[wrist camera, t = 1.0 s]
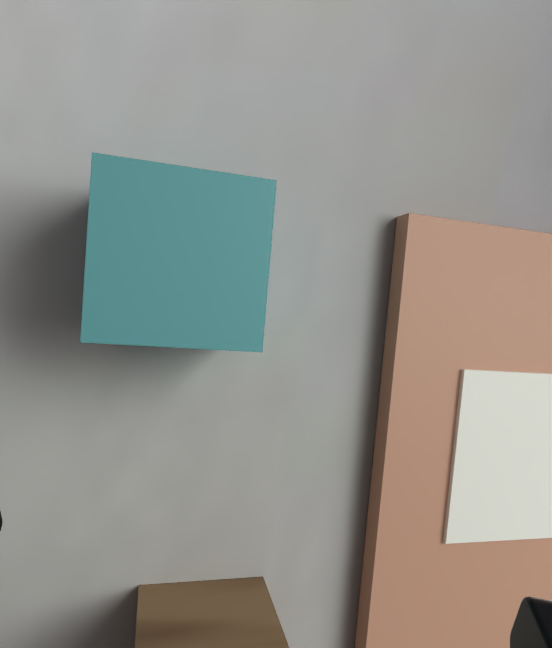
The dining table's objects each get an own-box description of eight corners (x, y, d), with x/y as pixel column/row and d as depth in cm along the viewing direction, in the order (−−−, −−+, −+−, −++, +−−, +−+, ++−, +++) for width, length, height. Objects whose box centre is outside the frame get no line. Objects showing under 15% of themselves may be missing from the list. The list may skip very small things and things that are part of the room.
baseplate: (600, 636, 24) (622, 653, 23) (352, 667, 21) (364, 690, 20) (649, 252, 23) (674, 250, 22) (396, 216, 20) (411, 212, 19)
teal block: (234, 336, 19) (262, 352, 14) (101, 327, 17) (80, 342, 12) (244, 209, 18) (276, 180, 13) (110, 191, 17) (92, 152, 12)
